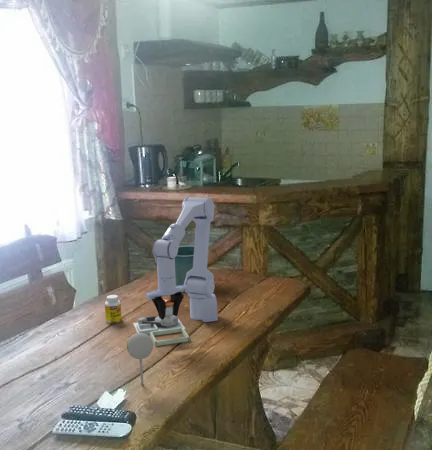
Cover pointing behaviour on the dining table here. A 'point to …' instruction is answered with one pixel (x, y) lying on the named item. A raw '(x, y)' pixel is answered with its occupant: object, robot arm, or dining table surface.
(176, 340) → the tray
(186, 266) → the flower pot
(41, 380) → the dining table surface
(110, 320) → the supplement bottle
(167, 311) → the pin
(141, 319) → the pulley board
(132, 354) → the lollipop
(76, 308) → the dining table surface
